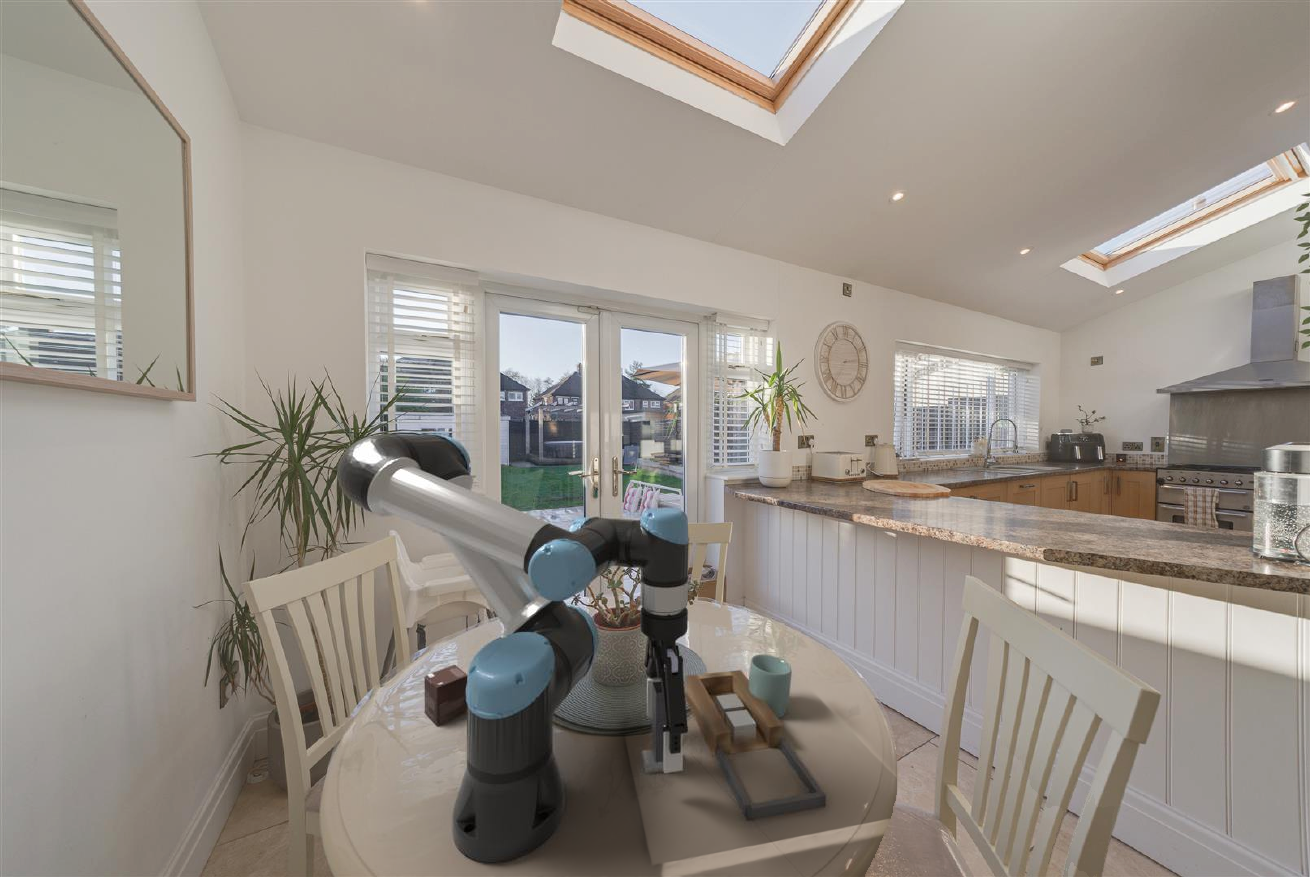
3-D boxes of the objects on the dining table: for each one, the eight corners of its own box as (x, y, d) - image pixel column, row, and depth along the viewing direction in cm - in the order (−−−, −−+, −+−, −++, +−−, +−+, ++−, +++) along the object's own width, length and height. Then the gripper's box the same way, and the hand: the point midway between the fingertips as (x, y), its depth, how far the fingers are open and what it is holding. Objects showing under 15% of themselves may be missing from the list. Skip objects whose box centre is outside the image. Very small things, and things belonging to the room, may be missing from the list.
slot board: (712, 765, 73) (713, 735, 73) (683, 700, 91) (683, 676, 91) (785, 754, 76) (785, 725, 76) (742, 693, 94) (743, 669, 94)
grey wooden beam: (645, 783, 69) (646, 694, 69) (642, 769, 72) (643, 683, 72) (683, 777, 71) (684, 689, 71) (678, 763, 74) (679, 679, 73)
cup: (788, 732, 82) (794, 678, 82) (745, 723, 83) (750, 669, 84) (785, 708, 90) (790, 658, 90) (745, 700, 91) (750, 651, 91)
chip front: (734, 744, 76) (734, 726, 76) (725, 728, 80) (725, 712, 80) (755, 741, 77) (756, 723, 77) (746, 726, 81) (746, 709, 81)
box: (468, 712, 86) (468, 675, 86) (436, 727, 82) (436, 687, 82) (455, 699, 91) (455, 663, 90) (423, 713, 86) (423, 675, 86)
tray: (746, 831, 61) (747, 809, 61) (716, 767, 73) (716, 748, 73) (825, 816, 64) (825, 795, 64) (784, 756, 75) (784, 739, 75)
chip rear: (723, 725, 81) (723, 709, 81) (715, 711, 85) (716, 696, 85) (744, 722, 82) (744, 706, 82) (735, 709, 86) (735, 693, 86)
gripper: (712, 639, 60) (710, 797, 60) (668, 580, 84) (667, 694, 84) (657, 644, 59) (656, 806, 59) (629, 582, 82) (628, 699, 83)
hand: (663, 740), depth 71 cm, fingers open, 12 cm apart
